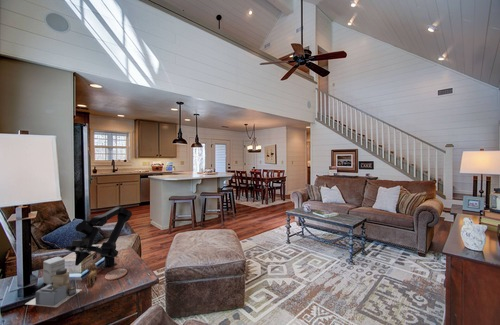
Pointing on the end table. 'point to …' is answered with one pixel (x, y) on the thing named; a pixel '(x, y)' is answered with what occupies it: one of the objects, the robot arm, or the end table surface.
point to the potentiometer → (71, 291)
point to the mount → (50, 296)
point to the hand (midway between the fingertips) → (76, 265)
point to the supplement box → (52, 268)
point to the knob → (61, 279)
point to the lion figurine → (91, 273)
